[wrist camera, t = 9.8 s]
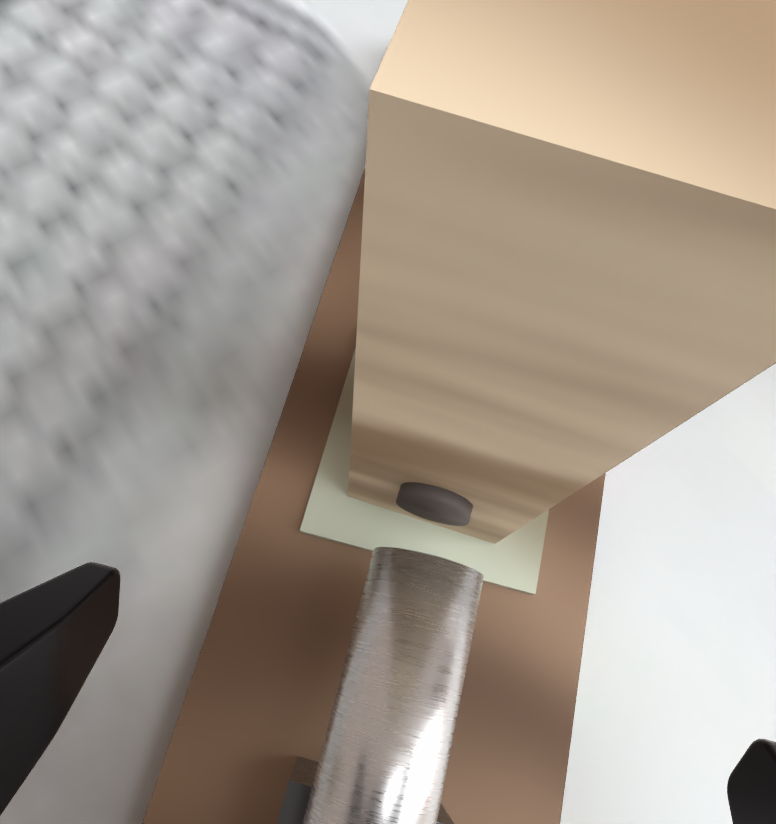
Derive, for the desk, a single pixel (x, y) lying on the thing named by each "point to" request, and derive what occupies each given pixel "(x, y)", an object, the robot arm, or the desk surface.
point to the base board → (337, 609)
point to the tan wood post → (557, 245)
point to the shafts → (393, 698)
